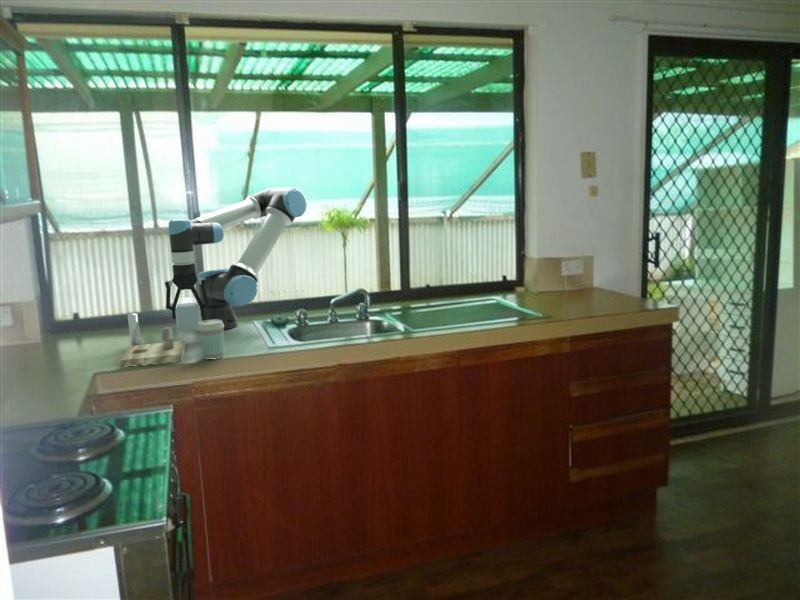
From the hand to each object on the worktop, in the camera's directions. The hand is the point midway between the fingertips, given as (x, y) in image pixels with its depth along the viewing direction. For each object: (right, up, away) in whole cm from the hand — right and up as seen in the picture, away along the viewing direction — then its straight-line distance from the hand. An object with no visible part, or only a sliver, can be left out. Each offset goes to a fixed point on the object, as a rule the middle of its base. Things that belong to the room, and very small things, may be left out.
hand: (189, 326), depth 217 cm
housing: (0, -1, 0) cm, 1 cm away
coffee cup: (+14, -10, -18) cm, 25 cm away
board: (-6, -10, -16) cm, 19 cm away
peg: (-18, -7, -2) cm, 20 cm away
